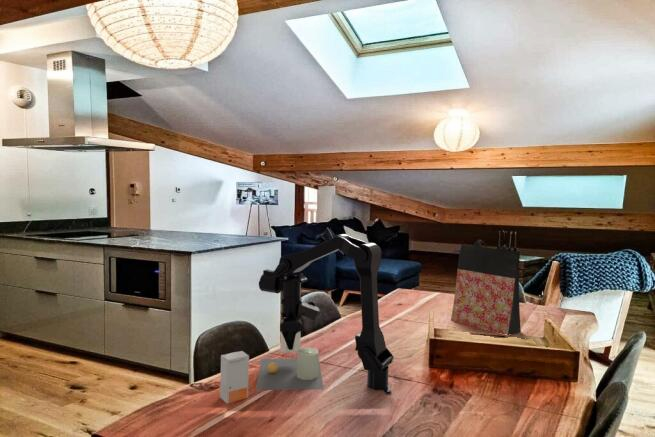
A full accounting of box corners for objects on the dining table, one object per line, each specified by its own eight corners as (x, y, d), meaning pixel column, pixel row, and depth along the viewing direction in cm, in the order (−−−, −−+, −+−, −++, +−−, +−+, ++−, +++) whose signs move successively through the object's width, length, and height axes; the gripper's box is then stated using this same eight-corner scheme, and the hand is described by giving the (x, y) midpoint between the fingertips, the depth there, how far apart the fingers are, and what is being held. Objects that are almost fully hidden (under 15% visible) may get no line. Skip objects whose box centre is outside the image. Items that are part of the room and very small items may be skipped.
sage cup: (318, 379, 126) (319, 355, 126) (297, 379, 126) (297, 355, 125) (317, 371, 132) (317, 347, 132) (296, 371, 132) (297, 347, 131)
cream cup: (300, 352, 135) (300, 329, 134) (280, 352, 134) (280, 329, 134) (300, 345, 141) (300, 323, 140) (280, 345, 140) (281, 323, 140)
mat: (323, 392, 120) (323, 389, 120) (255, 393, 119) (255, 389, 119) (318, 361, 142) (318, 358, 142) (261, 362, 141) (261, 358, 141)
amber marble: (277, 375, 129) (277, 364, 129) (267, 375, 129) (267, 364, 128) (277, 370, 132) (278, 360, 132) (267, 370, 132) (267, 360, 131)
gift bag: (524, 330, 180) (528, 243, 178) (505, 337, 171) (509, 245, 169) (461, 313, 203) (464, 236, 201) (441, 319, 194) (444, 238, 192)
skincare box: (226, 407, 111) (227, 360, 110) (219, 400, 115) (220, 354, 114) (249, 401, 115) (249, 355, 114) (241, 394, 118) (242, 350, 117)
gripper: (319, 302, 128) (318, 356, 129) (316, 288, 146) (315, 335, 147) (280, 302, 127) (279, 357, 128) (281, 288, 145) (281, 336, 146)
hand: (290, 345), depth 137 cm, fingers closed on cream cup, 6 cm apart
